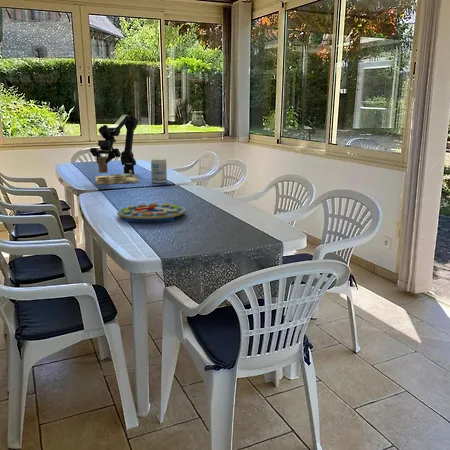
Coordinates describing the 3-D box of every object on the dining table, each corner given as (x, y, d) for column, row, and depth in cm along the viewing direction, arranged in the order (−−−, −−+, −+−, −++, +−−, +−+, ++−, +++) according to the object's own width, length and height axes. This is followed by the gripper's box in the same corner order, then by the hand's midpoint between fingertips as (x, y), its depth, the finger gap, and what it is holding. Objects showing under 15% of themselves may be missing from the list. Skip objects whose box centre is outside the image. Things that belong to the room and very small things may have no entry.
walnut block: (107, 171, 279) (106, 156, 276) (106, 172, 275) (105, 157, 272) (100, 171, 279) (99, 156, 276) (99, 172, 274) (97, 157, 272)
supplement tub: (152, 183, 276) (151, 160, 272) (150, 181, 284) (149, 158, 280) (168, 182, 279) (167, 159, 274) (165, 180, 287) (164, 157, 283)
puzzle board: (135, 176, 299) (135, 172, 298) (138, 182, 279) (138, 177, 278) (95, 178, 292) (95, 173, 291) (95, 184, 272) (95, 179, 271)
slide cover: (131, 174, 297) (131, 169, 296) (132, 176, 290) (132, 171, 289) (121, 175, 295) (120, 170, 294) (121, 176, 288) (121, 171, 287)
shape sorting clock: (187, 208, 217) (186, 196, 215) (183, 225, 188) (183, 212, 186) (124, 208, 216) (123, 196, 214) (111, 226, 187) (110, 212, 185)
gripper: (89, 134, 276) (82, 154, 268) (117, 135, 272) (110, 155, 265) (96, 146, 285) (89, 165, 278) (123, 146, 282) (117, 166, 274)
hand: (101, 163), depth 274 cm, fingers closed on walnut block, 5 cm apart
